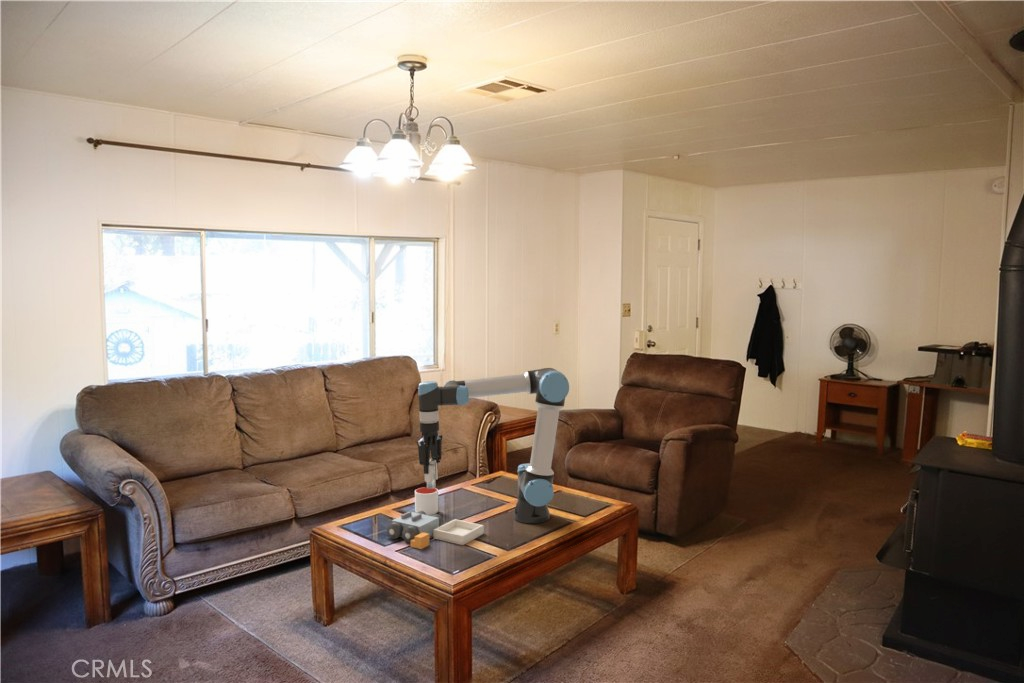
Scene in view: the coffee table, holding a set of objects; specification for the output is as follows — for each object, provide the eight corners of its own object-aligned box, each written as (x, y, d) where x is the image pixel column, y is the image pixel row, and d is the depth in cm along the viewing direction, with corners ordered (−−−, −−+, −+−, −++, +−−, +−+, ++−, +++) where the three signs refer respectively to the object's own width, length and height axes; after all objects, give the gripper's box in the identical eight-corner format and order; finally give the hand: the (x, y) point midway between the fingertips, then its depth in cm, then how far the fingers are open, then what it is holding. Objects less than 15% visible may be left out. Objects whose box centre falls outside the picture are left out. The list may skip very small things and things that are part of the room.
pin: (439, 486, 267) (438, 459, 266) (432, 489, 263) (431, 462, 262) (430, 485, 269) (429, 458, 268) (423, 488, 266) (422, 460, 265)
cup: (410, 515, 290) (410, 492, 289) (421, 508, 299) (421, 486, 298) (431, 518, 286) (431, 494, 286) (442, 510, 296) (442, 488, 295)
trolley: (443, 530, 272) (443, 511, 271) (413, 545, 256) (413, 525, 255) (416, 523, 279) (416, 506, 279) (385, 538, 263) (385, 519, 263)
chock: (429, 545, 256) (429, 533, 256) (420, 549, 252) (420, 537, 252) (419, 542, 259) (418, 531, 259) (410, 547, 255) (410, 535, 254)
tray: (483, 533, 268) (483, 525, 268) (462, 545, 256) (462, 536, 256) (455, 527, 275) (454, 519, 275) (433, 538, 263) (433, 529, 263)
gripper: (434, 416, 273) (436, 473, 275) (407, 424, 259) (410, 484, 261) (449, 418, 269) (451, 476, 271) (423, 426, 255) (425, 486, 257)
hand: (431, 480), depth 266 cm, fingers closed on pin, 3 cm apart
